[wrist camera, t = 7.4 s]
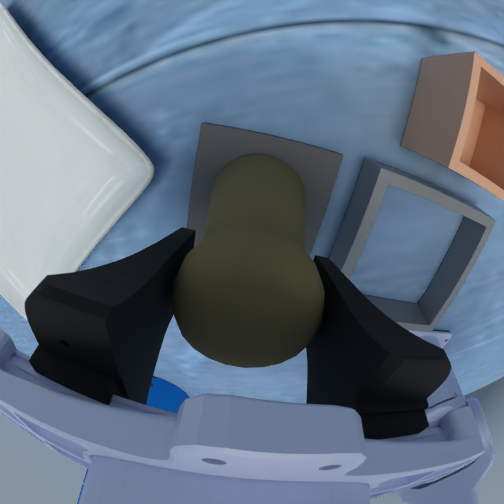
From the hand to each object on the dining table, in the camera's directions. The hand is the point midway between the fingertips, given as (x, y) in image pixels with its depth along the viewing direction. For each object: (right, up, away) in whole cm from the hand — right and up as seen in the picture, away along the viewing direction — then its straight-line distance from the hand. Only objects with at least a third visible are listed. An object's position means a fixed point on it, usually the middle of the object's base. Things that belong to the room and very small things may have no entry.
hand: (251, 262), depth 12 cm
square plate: (-24, +9, +6) cm, 26 cm away
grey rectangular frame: (+12, +1, +8) cm, 14 cm away
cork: (0, +4, +6) cm, 7 cm away
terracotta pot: (+14, +10, +2) cm, 18 cm away
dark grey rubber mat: (0, +4, +7) cm, 8 cm away
